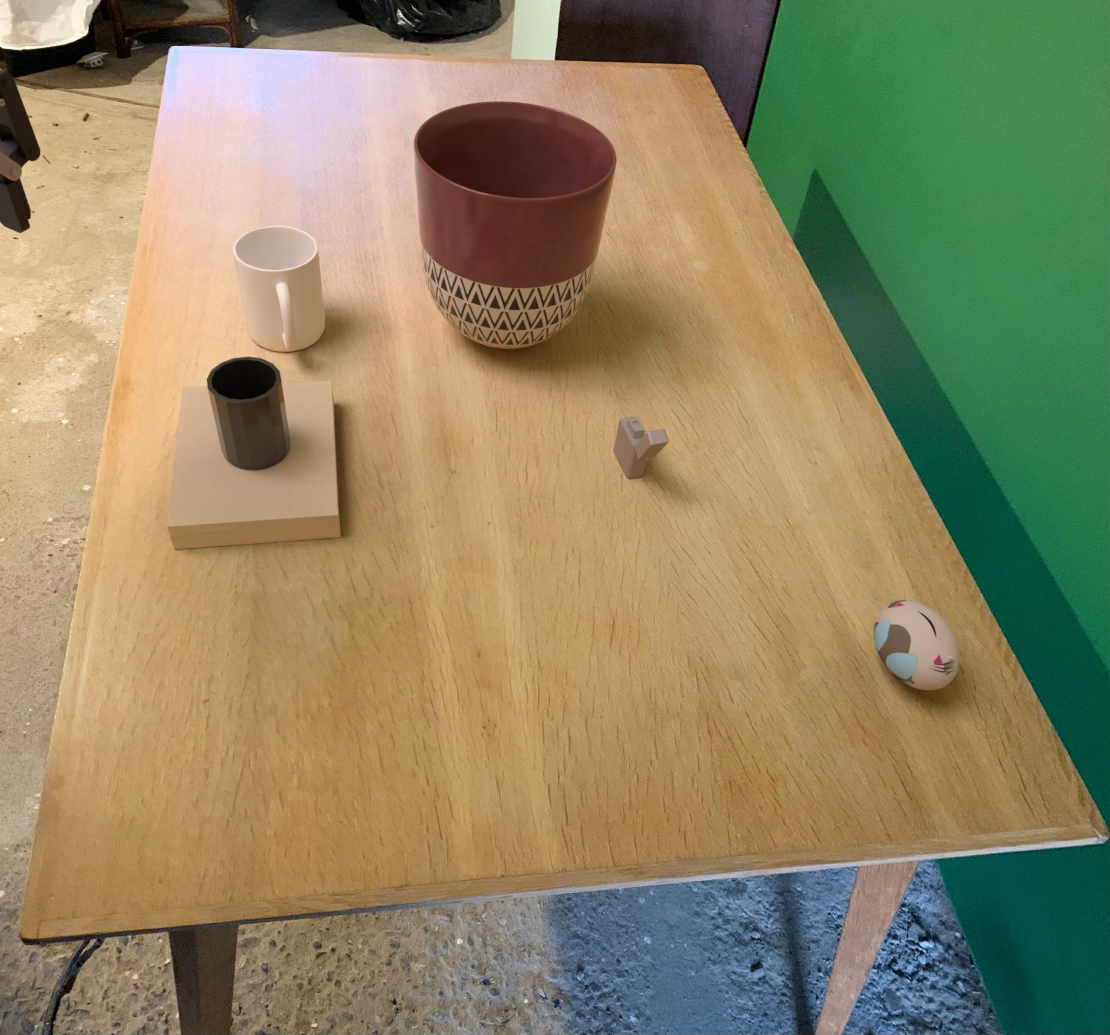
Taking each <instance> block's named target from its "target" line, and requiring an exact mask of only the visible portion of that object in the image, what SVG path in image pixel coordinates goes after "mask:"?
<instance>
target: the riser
mask: <svg viewBox="0 0 1110 1035" xmlns="http://www.w3.org/2000/svg"><path fill="white" fill-rule="evenodd" d="M181 388H182V389H181V397H180V407H179V414H178V415H179V416H178V425H177V433H176V443H175V451H174V459H173V460H174V461H173V467H172V468H173V469H172V479H171V487H170V497H169V505H168V514H167V523H166V527H167V532H168V534H169V538H170V541H171V544H172V548H173V550H184V549H186V550H187V549H199V548H211V547H212V548H213V547H228V546H239V545H242V546H243V545H251V544H252V545H253V544H266V543H269V544H270V543H282V542H294V541H308V540H323V539H334V538H335V539H336V538H341V534H342V533H341V519H340V518H341V517H340V508H339V489H338V488H339V487H338V470H337V469H338V468H337V448H336V446H337V445H336V430H335V429H336V428H335V417H336V415H335V414H336V412H335V397H334V388H333V381H332V380H317V381H315V380H314V381H293V382H290V381H289V382H282V388H283V394H284V401H285V408H286V415H287V422H288V428H289V435H290V442H291V443H290V444H291V446H290V451H289V453H288V455H287V456H286V457H285V458H284V459H283V460H282V461H281V462H280V463H278V464H276V465H274V466H272V467H270V468H266V469H262V470H244V469H240V468H237V467H235V466H233V465H231V464H230V463H229V462H228V461H227V460H226V459H225V458H224V456H223V453H222V450H221V446H220V441H219V437H218V432H217V428H216V423H215V419H214V414H213V410H212V405H211V401H210V396H209V392H208V387H207V385H197V386H196V385H195V386H182V387H181Z"/></svg>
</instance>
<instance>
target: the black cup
mask: <svg viewBox="0 0 1110 1035" xmlns="http://www.w3.org/2000/svg"><path fill="white" fill-rule="evenodd" d="M282 383H283V382H282V376H281V371H280V369H279V368H277V366H276V365H275V364H274V363H273V362H271V361H269V360H267V359H264V358H261V357H255V356H240V357H233V358H231V359H228V360H224V361H222V362H220V363H219V364H217V365H216V366H215V367H214V368H212V369H211V370H210V372H209V374H208V376H207V378H206V386H207V387H208V392H209V396H210V401H211V405H212V410H213V414H214V419H215V423H216V428H217V432H218V437H219V441H220V446H221V450H222V453H223V456H224V458H225V459H226V460H227V461H228V462H229V463H230V464H231V465H233V466H235V467H237V468H240V469H244V470H262V469H266V468H270V467H272V466H274V465H276V464H278V463H280V462H281V461H282V460H283V459H284V458H285V457H286V456H287V455H288V453H289V451H290V446H291V444H290V443H291V442H290V435H289V428H288V422H287V415H286V408H285V401H284V394H283V388H282Z"/></svg>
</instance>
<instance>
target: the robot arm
mask: <svg viewBox="0 0 1110 1035" xmlns="http://www.w3.org/2000/svg"><path fill="white" fill-rule="evenodd" d="M40 156H41V148H40V144H39V142H38V140H37V136H36V134H35V132H34V129H33V126H32V123H31V120H30V118H29V116H28V113H27V109H26V107H25V105H24V101H23V99H22V96H21V94H20V90H19V88H18V85H17V83H16V80H15V78H14V75H13V74H11V73H10V72H7V71H5V70H2V69H0V224H1V225H2V226H3V227H5V228H7V229H9V230H12V231H14V232H16V233H18V234H22V233H24V232H25V231H28V230H30V229H31V224H30V221H29V220H30V219H31V218H32V209H31V207H30V204H29V201H28V198H27V196H26V195H27V194H26V192H25V189H24V186H23V183H22V180H21V176H22V174H23V167H24V166H25V165H26V164H27V163H28V162H29V161H30V162H35V161H37V160H39V158H40Z"/></svg>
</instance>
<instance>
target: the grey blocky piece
mask: <svg viewBox="0 0 1110 1035" xmlns="http://www.w3.org/2000/svg"><path fill="white" fill-rule="evenodd" d="M617 426H618V427H617V431H616V437H615V441H614V446H613V454H614V456H615V458H616V460H617V462H618V464H619V466H620V468H621V470H622V472H623V474H624V476H625V477H626V479H628V480H629V479H636V478H642V477H643V475H644V473H645V468H646V464H647V460H648V459H653V458H656V457H657V456H658V454H659V453H661V451H663V449H664V448H665V447H666V446H667V445H668V444H669V439H668V435H667V433H666V429H665V428H659V429H652V430H648V431H646V429H645V427H644V425H643V423H642V421H641V419H640V418H639V417H636V416H634V415H633V416H627V417H620V419H619V421H618V425H617Z"/></svg>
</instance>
